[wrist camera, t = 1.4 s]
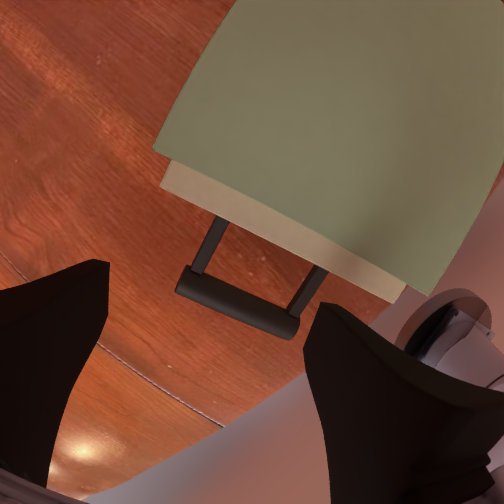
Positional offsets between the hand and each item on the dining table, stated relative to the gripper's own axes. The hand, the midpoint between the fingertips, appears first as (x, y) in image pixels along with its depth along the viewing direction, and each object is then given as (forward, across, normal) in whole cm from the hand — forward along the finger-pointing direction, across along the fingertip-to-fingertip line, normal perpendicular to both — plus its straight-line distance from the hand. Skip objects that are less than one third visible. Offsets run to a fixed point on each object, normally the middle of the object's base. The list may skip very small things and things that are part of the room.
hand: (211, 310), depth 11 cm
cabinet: (+9, -5, -10) cm, 14 cm away
